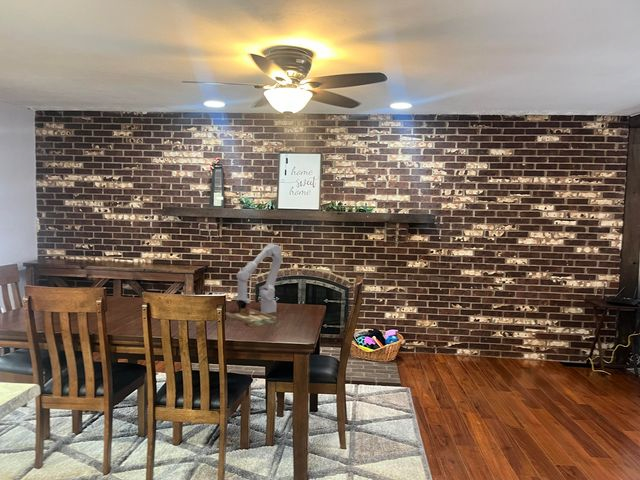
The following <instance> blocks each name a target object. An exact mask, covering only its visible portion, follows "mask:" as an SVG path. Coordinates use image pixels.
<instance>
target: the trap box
mask: <svg viewBox="0 0 640 480" xmlns="http://www.w3.org/2000/svg"><path fill="white" fill-rule="evenodd" d="M249 309H250V315H249V316H242V315H240V312H235V313H231V312H228V311H226V312H225V315H226V316H227V317H230V318H234V319H235V320H238V321H241V322H244V325H245V326H248V327H250V328H251V327H257V326H258V327H259V326H262V325H264V326H265V325H269V324H276V323H277V322H278V317H277V316H274V315H272V314H270V313H262V312H261V311H259V310H257V309H253V308H249ZM254 314H255V315H254Z"/></svg>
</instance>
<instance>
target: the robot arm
mask: <svg viewBox="0 0 640 480" xmlns="http://www.w3.org/2000/svg"><path fill="white" fill-rule="evenodd" d="M282 252H283V251H282V248H281V246H280V245H279V244H273V243H268V244H267V245H266V246H265V247H263V249H262V250H261V251H260V253H258V255H257V256H256V257H255V259H253V261H252V260H251V261H249V262H247V263H246V265H245V266H244V267H243V268H241V270H240V271H238V272H237V274H236V278H237V295H234V300H236V304H237V306H238V310H239V312H240V308H247V305H248V304H251V299H250V298H248V281H249V279H250V276H251V275H252V274H253V273H254V272H255V271H256V269H258V265H259V264H260V263H261V262H262V261H263V260H264V259H265V258H267V257H271V259H272V262H271V266H270V268H269V272H268V275H267V277H266V282H265V284H264V285H263V286H262V289H260V291H259V297H261V298H260V312H262V313H266V314H271V313H277V301H276V299H274V298H275V297H276V296H275V295H276V294H275V292H276V289H275V285H276V284H275V283H276V281H277V277H278V274H279V272H280V267H281V264H282V261H283V256H282V254H283V253H282Z"/></svg>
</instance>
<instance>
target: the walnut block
mask: <svg viewBox="0 0 640 480" xmlns="http://www.w3.org/2000/svg"><path fill="white" fill-rule="evenodd" d="M250 309H251V308H249V307H245V308H240V311H239V313H240V315H242V316H249V315H251V314H250Z"/></svg>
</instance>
